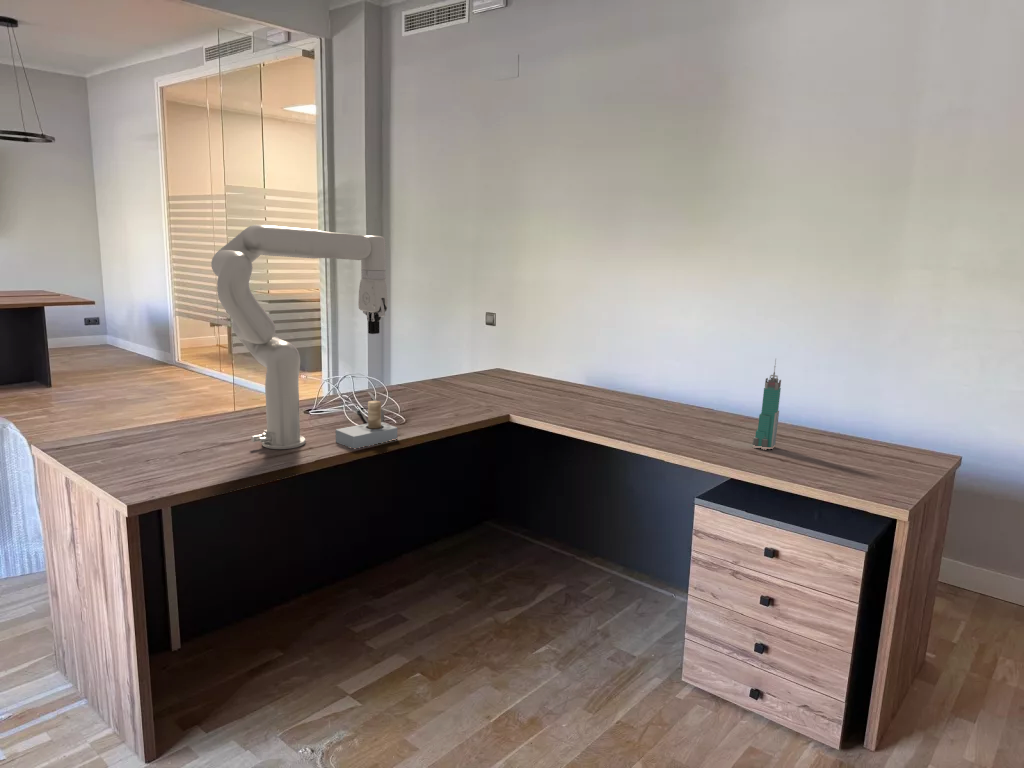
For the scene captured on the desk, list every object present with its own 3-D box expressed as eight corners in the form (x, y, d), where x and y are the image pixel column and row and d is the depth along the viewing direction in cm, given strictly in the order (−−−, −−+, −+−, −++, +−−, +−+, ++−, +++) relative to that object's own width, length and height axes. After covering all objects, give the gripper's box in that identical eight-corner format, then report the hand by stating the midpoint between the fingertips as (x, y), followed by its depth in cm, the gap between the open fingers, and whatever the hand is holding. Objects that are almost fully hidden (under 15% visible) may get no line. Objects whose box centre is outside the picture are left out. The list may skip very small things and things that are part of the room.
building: (770, 451, 223) (781, 358, 217) (751, 448, 226) (761, 356, 220) (775, 447, 228) (785, 355, 222) (756, 443, 231) (765, 353, 225)
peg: (373, 441, 219) (372, 404, 216) (365, 439, 222) (365, 401, 219) (384, 439, 222) (383, 402, 219) (376, 436, 225) (376, 400, 222)
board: (353, 449, 211) (353, 436, 210) (335, 442, 217) (335, 429, 217) (397, 439, 222) (397, 427, 221) (379, 433, 229) (379, 421, 228)
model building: (366, 415, 261) (378, 434, 238) (353, 403, 258) (364, 421, 235) (380, 401, 261) (394, 418, 239) (367, 388, 259) (379, 405, 236)
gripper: (350, 274, 224) (350, 331, 228) (377, 277, 214) (377, 337, 218) (370, 274, 229) (370, 329, 233) (397, 277, 219) (397, 335, 223)
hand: (373, 333), depth 225 cm, fingers closed
